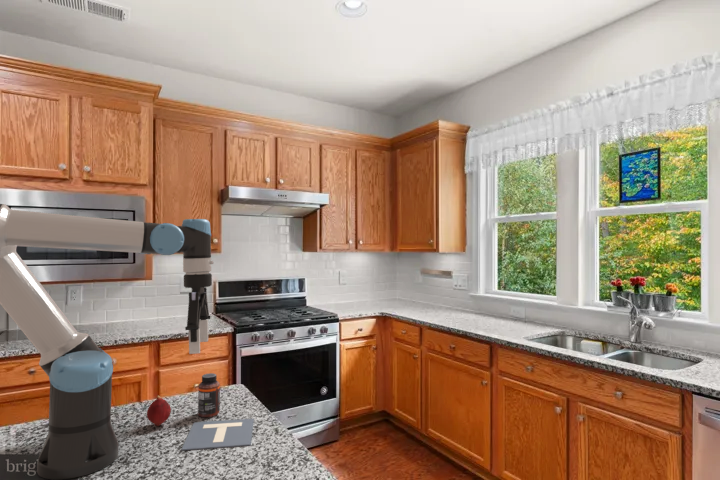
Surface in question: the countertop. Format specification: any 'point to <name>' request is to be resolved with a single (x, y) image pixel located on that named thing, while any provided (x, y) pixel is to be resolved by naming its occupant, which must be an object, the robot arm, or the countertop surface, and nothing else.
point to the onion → (158, 411)
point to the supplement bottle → (209, 396)
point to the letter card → (219, 434)
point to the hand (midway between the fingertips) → (199, 347)
